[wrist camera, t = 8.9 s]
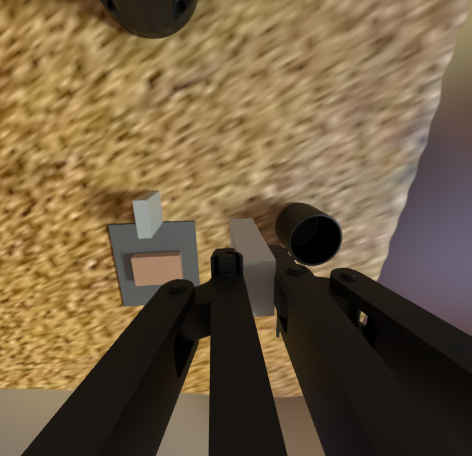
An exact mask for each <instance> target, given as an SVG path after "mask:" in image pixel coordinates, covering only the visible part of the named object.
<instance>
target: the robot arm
mask: <svg viewBox="0 0 472 456" xmlns="http://www.w3.org/2000/svg"><path fill="white" fill-rule="evenodd" d="M100 1H101V2H102V4H103V5H104V7H105V8H106V9H107V11H108V12H109V13H110V15H111V16H112V17H113V18H114V19H115V20H116V21H117V22H118V23H119V24H120V25H121V26H123V27H124V28H125V29H127V30H128V31H130V32H132V33H134V34H136V35H139V36H142V37H146V38H163V37H167V36H170V35H172V34H174V33H176V32H177V31H179V30H180V29H181V28H182V27H183V26H184V25H185V24H186V23H187V22H188V21H189V19H190V18H191V16H192V14H193V12H194V10H195V8H196V5H197V2H198V0H100ZM230 239H231V248H222V249H216V250H215V251H214V252H213V255H212V256H211V258H210V260H211V279H210V280H209V281H208V282H206V283H204V284H202V285H199V286H195V287H194V284H193V282H191V281H189V280H185V279H175V280H171V281H169V282H167V283H164V284H163V285H162V286H161V287H160V288H159V289H158V290H157V292H156V293H155V294H154V295H153V296H152V298H151V299H150V300H149V301H148V303H147V304H146V305H145V306H144V307H143V309H142V310H141V311H140V312H139V313H138V315H137V316H136V317H135V318H134V319H133V321H132V322H131V323H130V324H129V326H128V327H127V328H126V329H125V330H124V332H123V333H122V334H121V335H120V336H119V338H118V339H117V340H116V341H115V342H114V344H113V345H112V346H111V347H110V349H109V350H108V351H107V352H106V353H105V355H104V356H103V357H102V358H101V359H100V361H99V362H98V363H97V364H96V365H95V367H94V368H93V369H92V370H91V371H90V373H89V374H88V375H87V376H86V378H85V379H84V380H83V381H82V382H81V384H80V385H79V386H78V387H77V388H76V390H75V391H74V392H73V393H72V394H71V396H70V397H69V398H68V399H67V401H66V402H65V403H64V404H63V405H62V407H61V408H60V409H59V410H58V411H57V413H56V414H55V415H54V416H53V418H52V419H51V420H50V421H49V423H48V424H47V425H46V426H45V427H44V428H43V430H42V431H41V432H40V433H39V435H38V436H37V437H36V438H35V439H34V441H33V442H32V443H31V444H30V445H29V447H28V448H27V449H26V450H25V451H24V453H23V454H22V455H21V456H156V454H157V451H158V449H159V446H160V443H161V441H162V438H163V436H164V433H165V430H166V428H167V425H168V423H169V420H170V418H171V415H172V412H173V410H174V407H175V404H176V402H177V399H178V397H179V394H180V391H181V389H182V386H183V384H184V381H185V378H186V376H187V373H188V371H189V368H190V365H191V363H192V360H193V358H194V355H195V352H196V350H197V347H198V344H199V339H201V338H204V337H207V336H210V335H211V338H210V401H209V402H210V403H209V456H287V452H286V448H285V444H284V439H283V435H282V431H281V427H280V423H279V419H278V415H277V411H276V407H275V402H274V398H273V394H272V390H271V386H270V382H269V378H268V374H267V370H266V366H265V361H264V357H263V353H262V349H261V345H260V341H259V337H258V333H257V329H256V325H255V320H254V317H259V316H272V315H274V305H275V307H276V310H277V327H276V337H279V333H280V332H281V335H282V338H283V340H284V343H285V346H286V349H287V351H288V354H289V357H290V360H291V362H292V365H293V368H294V371H295V373H296V376H297V379H298V382H299V384H300V387H301V390H302V393H303V395H304V398H305V401H306V403H307V406H308V409H309V412H310V414H311V417H312V420H313V422H314V426H315V428H316V431H317V434H318V436H319V439H320V442H321V445H322V448H323V450H324V453H325V456H472V336H470V335H468V334H466V333H465V332H463V331H461V330H459V329H458V328H456V327H454V326H453V325H451V324H449V323H447V322H445V321H444V320H442V319H440V318H439V317H437V316H435V315H433V314H432V313H430V312H428V311H426V310H425V309H423V308H421V307H419V306H418V305H416V304H414V303H412V302H411V301H409V300H407V299H405V298H403V297H402V296H400V295H399V294H397V293H395V292H393V291H392V290H390V289H388V288H386V287H384V286H383V285H381V284H379V283H378V282H376V281H374V280H372V279H371V278H369V277H367V276H365V275H364V274H362V273H360V272H358V271H356V270H352V269H350V268H336V269H334V270H332V271H331V273H330V278H325V277H317V276H314V275H313V273H312V272H311V271H310V270H309V269H308V268H307V267H305V266H303V265H299V264H296V263H295V261H294V260H293V259H292V257H291V256H290V255H289V253H288V252H287V251H286V249H285V248H284V247H282V246H280V245H267V244H266V242H265V240H264V238H263V237H262V235H261V233H260V231H259V230H258V228H257V226H256V224H255V223H254V221H253V219H252V218H242V219H230ZM361 311H362V312H363V313H365V314H366V315H367V316H368V319H367V324H366V325H364V324H363V323H361V322H360V321H359V320H360V314H361Z"/></svg>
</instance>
